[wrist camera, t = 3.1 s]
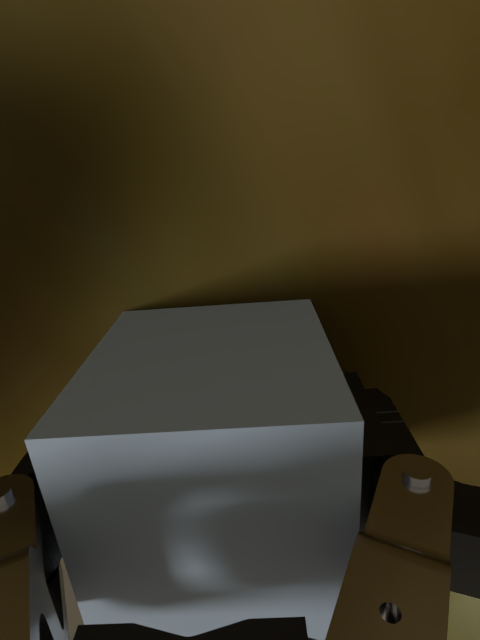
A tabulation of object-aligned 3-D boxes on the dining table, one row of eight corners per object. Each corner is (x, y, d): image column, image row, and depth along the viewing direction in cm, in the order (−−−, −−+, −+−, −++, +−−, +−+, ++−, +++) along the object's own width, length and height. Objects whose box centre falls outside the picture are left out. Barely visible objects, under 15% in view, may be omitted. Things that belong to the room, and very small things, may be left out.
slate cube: (309, 298, 12) (363, 421, 7) (311, 450, 14) (354, 643, 9) (123, 310, 12) (24, 439, 7) (152, 459, 14) (93, 652, 9)
